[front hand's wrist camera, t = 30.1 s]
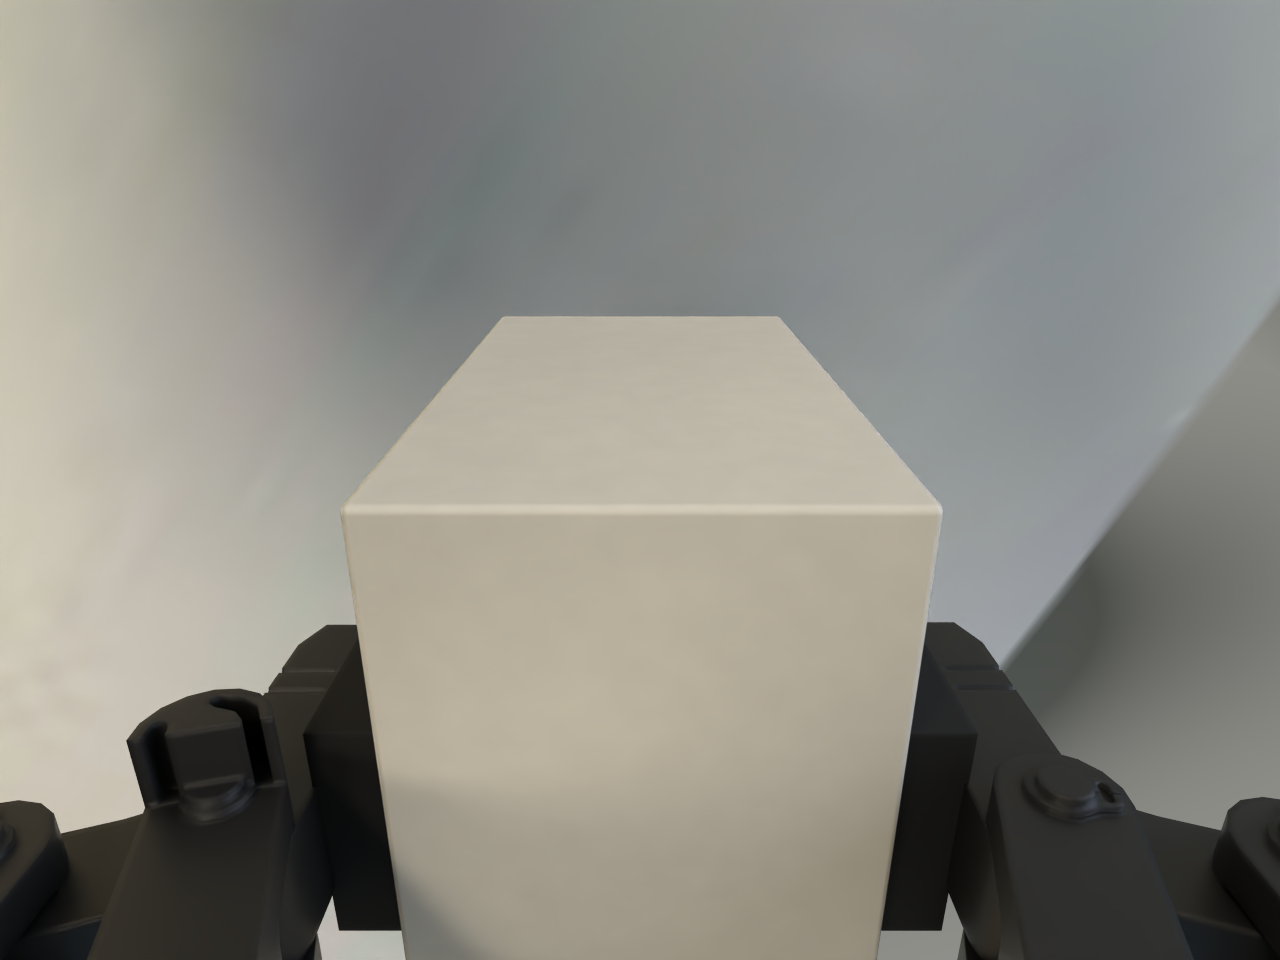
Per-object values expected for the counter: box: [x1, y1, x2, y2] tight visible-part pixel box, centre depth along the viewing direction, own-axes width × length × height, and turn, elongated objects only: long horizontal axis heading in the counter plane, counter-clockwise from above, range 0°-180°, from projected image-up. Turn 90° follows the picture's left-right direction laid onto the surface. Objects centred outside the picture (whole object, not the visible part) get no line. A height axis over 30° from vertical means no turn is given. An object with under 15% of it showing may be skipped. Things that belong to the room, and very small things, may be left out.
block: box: [340, 316, 943, 960], centre depth 13 cm, size 5×8×9 cm
